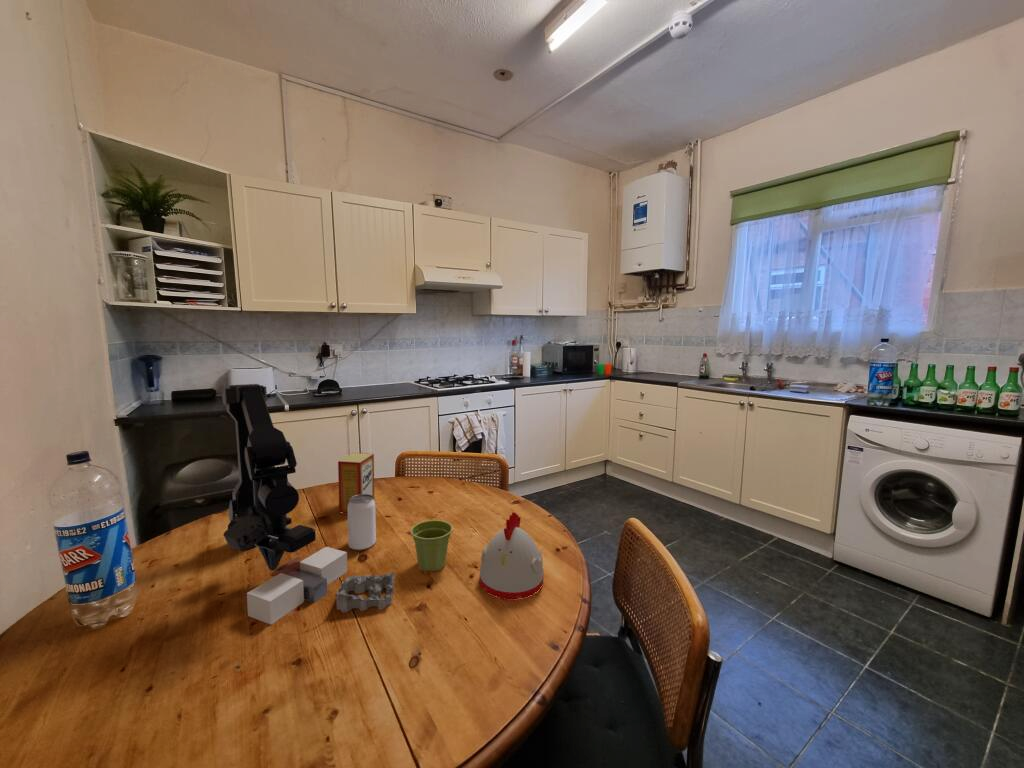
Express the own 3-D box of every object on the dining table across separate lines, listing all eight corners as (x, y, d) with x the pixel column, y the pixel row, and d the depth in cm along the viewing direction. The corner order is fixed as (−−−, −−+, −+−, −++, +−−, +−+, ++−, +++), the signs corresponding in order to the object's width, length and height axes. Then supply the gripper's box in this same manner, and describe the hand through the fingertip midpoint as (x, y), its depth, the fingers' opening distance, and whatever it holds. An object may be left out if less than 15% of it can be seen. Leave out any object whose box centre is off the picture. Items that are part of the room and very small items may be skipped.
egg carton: (332, 615, 76) (331, 595, 76) (343, 590, 84) (343, 572, 83) (390, 611, 77) (390, 591, 77) (397, 587, 85) (396, 569, 84)
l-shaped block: (276, 594, 82) (274, 569, 81) (298, 580, 86) (297, 557, 86) (310, 605, 78) (309, 580, 78) (331, 590, 83) (330, 566, 82)
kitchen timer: (468, 590, 84) (469, 521, 82) (494, 557, 97) (495, 497, 95) (532, 607, 79) (534, 534, 78) (550, 570, 92) (552, 506, 91)
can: (366, 552, 98) (366, 504, 97) (342, 549, 99) (341, 502, 98) (380, 539, 104) (380, 494, 103) (357, 536, 106) (357, 492, 104)
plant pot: (402, 564, 93) (402, 528, 92) (435, 550, 100) (436, 516, 99) (426, 581, 87) (426, 543, 86) (460, 564, 94) (461, 528, 93)
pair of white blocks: (248, 615, 75) (246, 593, 74) (326, 565, 92) (326, 546, 92) (271, 624, 73) (270, 601, 72) (347, 571, 90) (346, 552, 89)
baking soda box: (354, 500, 129) (353, 451, 127) (374, 501, 128) (373, 452, 126) (339, 513, 119) (338, 460, 118) (360, 514, 119) (359, 461, 117)
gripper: (198, 504, 79) (202, 579, 81) (266, 523, 73) (269, 604, 75) (252, 486, 90) (255, 552, 91) (316, 500, 83) (318, 572, 85)
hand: (273, 569), depth 85 cm, fingers closed
